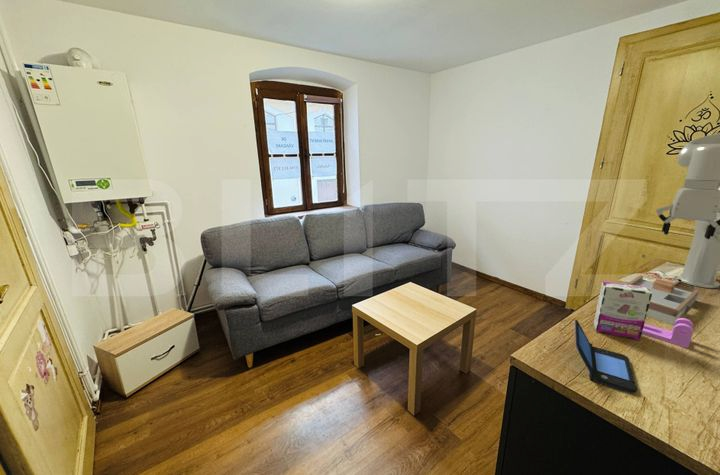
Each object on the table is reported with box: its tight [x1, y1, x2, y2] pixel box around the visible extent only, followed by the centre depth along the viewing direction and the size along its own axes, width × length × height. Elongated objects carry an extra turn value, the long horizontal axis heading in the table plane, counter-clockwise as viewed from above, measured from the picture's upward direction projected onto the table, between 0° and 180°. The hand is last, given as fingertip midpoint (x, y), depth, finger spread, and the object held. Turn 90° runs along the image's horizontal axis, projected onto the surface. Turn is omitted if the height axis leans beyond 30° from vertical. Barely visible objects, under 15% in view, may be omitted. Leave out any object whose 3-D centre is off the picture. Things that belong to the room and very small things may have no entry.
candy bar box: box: [593, 281, 652, 341], centre depth 92 cm, size 11×5×16 cm, turn 62°
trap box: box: [627, 275, 700, 326], centre depth 110 cm, size 28×17×6 cm, turn 122°
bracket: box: [642, 317, 694, 349], centre depth 92 cm, size 13×6×7 cm, turn 42°
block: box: [652, 278, 677, 293], centre depth 114 cm, size 5×5×3 cm
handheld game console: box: [574, 319, 638, 394], centre depth 79 cm, size 16×13×9 cm
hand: (685, 235), depth 99 cm, fingers open, 9 cm apart
